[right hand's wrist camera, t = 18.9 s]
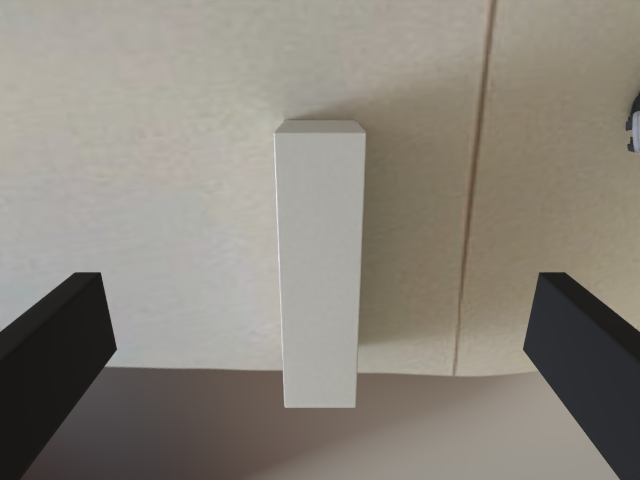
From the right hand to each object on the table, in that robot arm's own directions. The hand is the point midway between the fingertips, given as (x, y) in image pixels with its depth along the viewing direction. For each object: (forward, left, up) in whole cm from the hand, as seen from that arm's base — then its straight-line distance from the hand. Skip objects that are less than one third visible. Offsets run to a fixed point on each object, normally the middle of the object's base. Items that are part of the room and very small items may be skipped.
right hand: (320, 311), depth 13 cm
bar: (-1, +8, -24) cm, 26 cm away
